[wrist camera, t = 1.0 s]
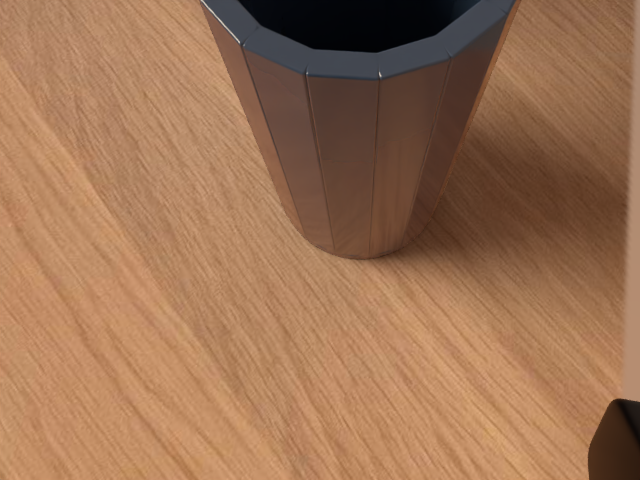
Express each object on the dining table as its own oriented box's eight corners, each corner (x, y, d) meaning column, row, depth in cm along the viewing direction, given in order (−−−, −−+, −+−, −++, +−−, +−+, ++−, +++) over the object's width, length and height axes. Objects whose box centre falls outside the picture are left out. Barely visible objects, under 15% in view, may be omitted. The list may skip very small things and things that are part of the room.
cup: (462, 232, 22) (598, 14, 9) (305, 279, 22) (233, 123, 9) (410, 91, 24) (466, -257, 11) (263, 135, 24) (152, -165, 11)
